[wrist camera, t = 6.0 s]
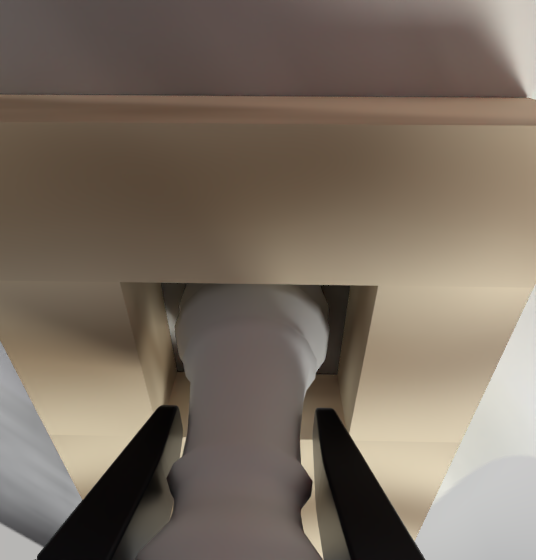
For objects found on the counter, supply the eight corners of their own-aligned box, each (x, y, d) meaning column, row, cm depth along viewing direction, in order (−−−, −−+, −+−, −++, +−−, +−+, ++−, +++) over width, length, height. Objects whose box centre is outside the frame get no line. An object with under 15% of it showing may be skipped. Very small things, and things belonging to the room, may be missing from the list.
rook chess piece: (158, 321, 13) (25, 666, 6) (228, 215, 10) (140, 573, 4) (274, 376, 14) (269, 707, 7) (358, 292, 12) (458, 656, 5)
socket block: (386, 510, 19) (399, 572, 17) (133, 504, 19) (116, 565, 17) (528, 98, 9) (609, 126, 6) (-21, 93, 9) (-113, 120, 7)
